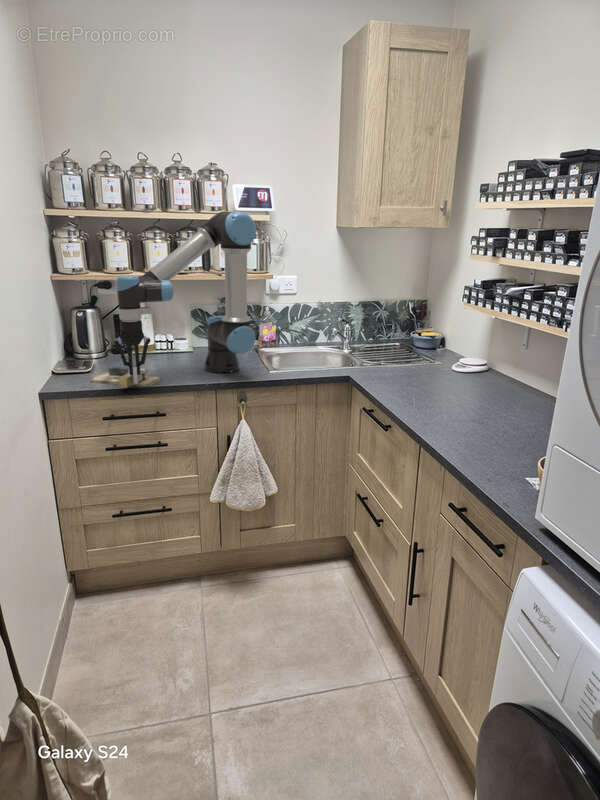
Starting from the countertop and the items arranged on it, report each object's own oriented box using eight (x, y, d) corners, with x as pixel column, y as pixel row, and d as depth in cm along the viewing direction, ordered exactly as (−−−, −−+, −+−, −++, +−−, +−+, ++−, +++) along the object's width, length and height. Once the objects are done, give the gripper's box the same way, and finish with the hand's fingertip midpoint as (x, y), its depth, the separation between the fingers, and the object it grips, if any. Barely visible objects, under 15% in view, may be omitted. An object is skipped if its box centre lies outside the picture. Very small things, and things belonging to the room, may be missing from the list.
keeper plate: (138, 376, 220) (137, 366, 218) (124, 384, 208) (124, 374, 207) (105, 373, 221) (104, 364, 220) (90, 382, 210) (89, 372, 209)
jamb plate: (159, 379, 217) (159, 370, 215) (149, 386, 207) (149, 377, 206) (135, 377, 218) (135, 369, 217) (124, 384, 208) (124, 375, 207)
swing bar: (140, 375, 214) (139, 366, 213) (150, 376, 213) (149, 367, 212) (117, 386, 199) (117, 377, 198) (128, 387, 198) (127, 378, 197)
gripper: (148, 317, 200) (152, 379, 207) (111, 319, 196) (117, 381, 203) (150, 321, 193) (154, 384, 200) (111, 322, 189) (117, 387, 196)
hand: (135, 383), depth 202 cm, fingers closed
